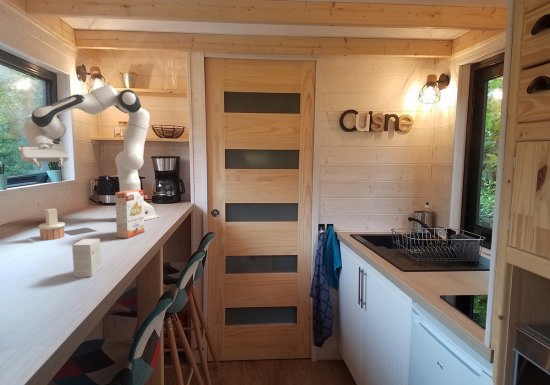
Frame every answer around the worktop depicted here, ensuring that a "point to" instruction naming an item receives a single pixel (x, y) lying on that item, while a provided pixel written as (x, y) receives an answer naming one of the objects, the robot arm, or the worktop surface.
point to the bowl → (52, 234)
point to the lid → (51, 220)
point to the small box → (86, 257)
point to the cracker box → (129, 213)
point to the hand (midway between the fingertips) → (50, 166)
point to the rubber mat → (79, 231)
